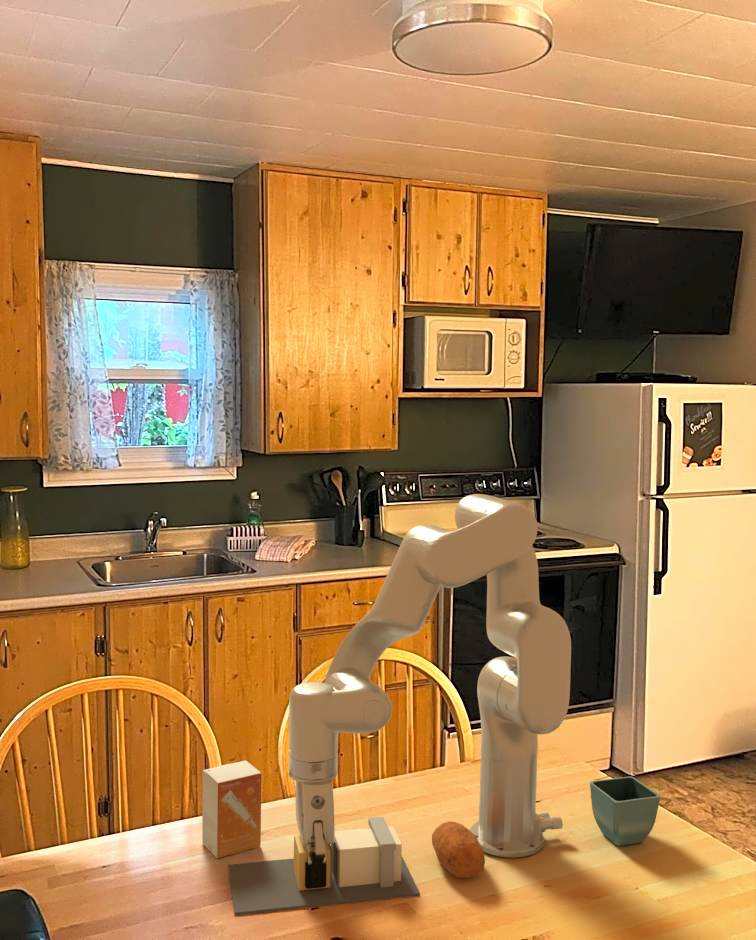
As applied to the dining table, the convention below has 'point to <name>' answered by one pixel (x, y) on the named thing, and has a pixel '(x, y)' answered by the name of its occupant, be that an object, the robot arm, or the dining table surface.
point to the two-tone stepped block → (367, 855)
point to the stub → (301, 858)
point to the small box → (231, 808)
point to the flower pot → (624, 809)
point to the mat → (278, 890)
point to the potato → (458, 849)
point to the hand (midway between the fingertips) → (312, 874)
